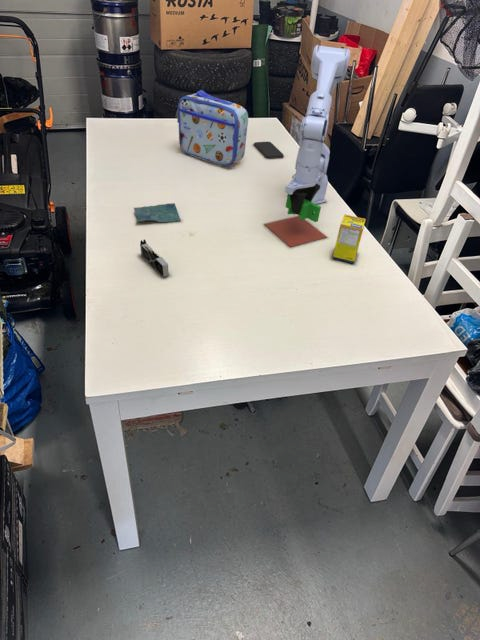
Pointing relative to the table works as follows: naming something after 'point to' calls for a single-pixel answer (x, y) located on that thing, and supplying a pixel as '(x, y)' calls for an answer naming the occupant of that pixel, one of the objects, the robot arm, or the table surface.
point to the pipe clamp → (305, 210)
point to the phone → (268, 150)
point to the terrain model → (158, 213)
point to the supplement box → (348, 238)
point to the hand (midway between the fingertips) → (300, 210)
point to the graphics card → (154, 259)
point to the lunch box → (212, 128)
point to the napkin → (295, 231)
